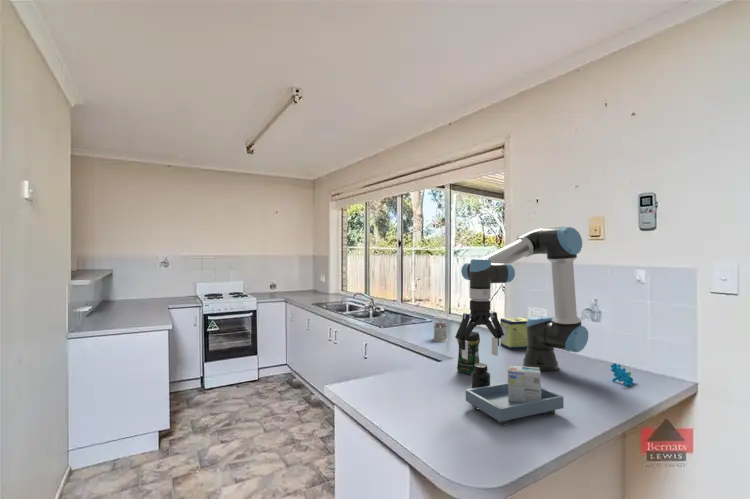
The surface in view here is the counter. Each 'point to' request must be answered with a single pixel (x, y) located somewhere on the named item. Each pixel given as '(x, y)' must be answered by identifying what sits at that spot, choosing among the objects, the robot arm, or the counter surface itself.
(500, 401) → the tote
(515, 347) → the protein box
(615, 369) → the gear
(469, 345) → the coffee jar
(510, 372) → the light bulb box
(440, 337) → the french press
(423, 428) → the counter surface
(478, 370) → the supplement bottle
